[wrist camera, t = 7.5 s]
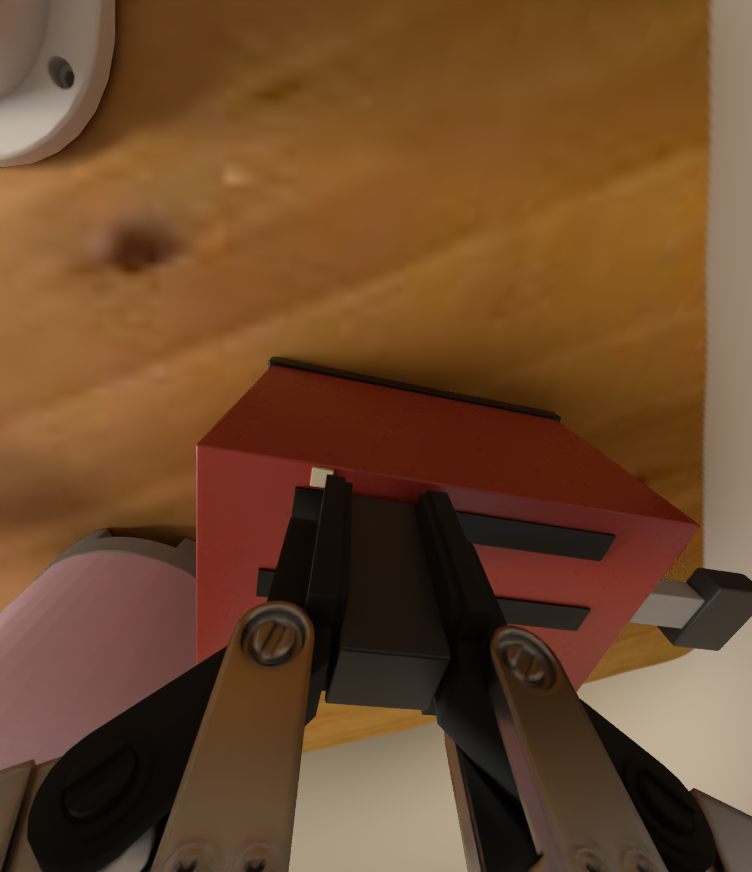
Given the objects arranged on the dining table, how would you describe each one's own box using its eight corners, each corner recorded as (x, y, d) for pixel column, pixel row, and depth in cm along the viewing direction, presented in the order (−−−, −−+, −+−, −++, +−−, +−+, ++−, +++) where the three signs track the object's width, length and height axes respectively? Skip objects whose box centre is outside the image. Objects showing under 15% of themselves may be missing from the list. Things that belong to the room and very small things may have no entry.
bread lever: (625, 556, 15) (646, 579, 13) (743, 573, 15) (772, 596, 14) (586, 614, 16) (602, 639, 15) (696, 627, 17) (719, 651, 16)
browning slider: (347, 493, 10) (338, 649, 6) (414, 504, 10) (452, 659, 6) (337, 537, 10) (323, 704, 6) (401, 545, 11) (428, 712, 7)
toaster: (272, 356, 18) (185, 437, 9) (554, 412, 20) (714, 524, 11) (258, 513, 22) (188, 677, 13) (493, 546, 25) (573, 707, 15)
